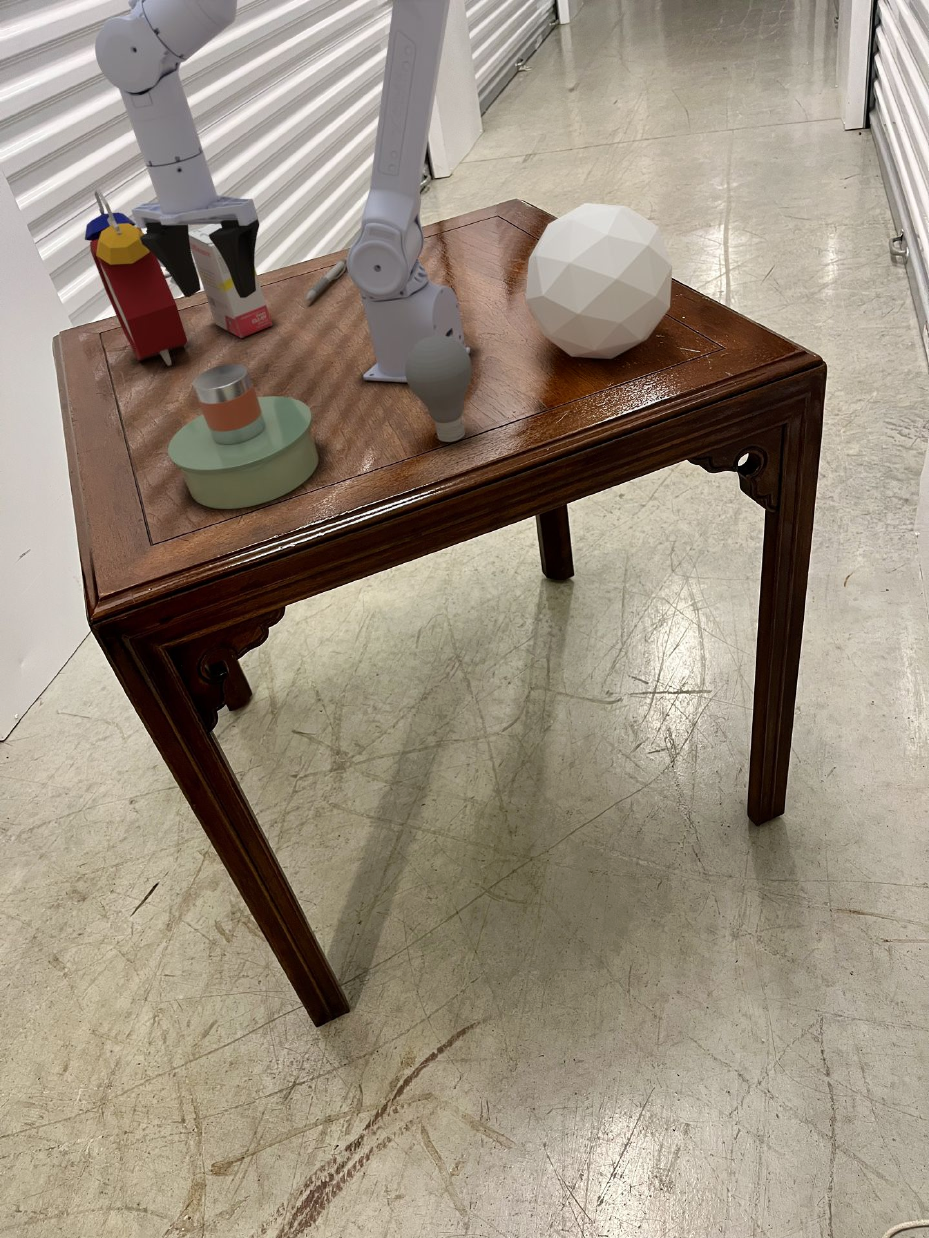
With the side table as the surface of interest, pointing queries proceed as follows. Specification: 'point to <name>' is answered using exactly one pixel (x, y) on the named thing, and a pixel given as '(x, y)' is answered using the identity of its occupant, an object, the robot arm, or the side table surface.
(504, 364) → the side table surface
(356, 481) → the side table surface
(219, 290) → the ink box
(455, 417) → the light bulb
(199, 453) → the pale green flat cylinder
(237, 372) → the can
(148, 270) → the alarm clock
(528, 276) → the geometric shape
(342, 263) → the pen
